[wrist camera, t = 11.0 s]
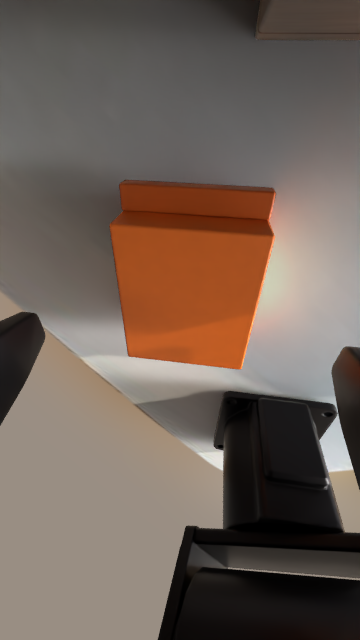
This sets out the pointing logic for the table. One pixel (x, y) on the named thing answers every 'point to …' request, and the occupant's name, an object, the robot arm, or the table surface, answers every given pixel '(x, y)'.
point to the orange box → (191, 268)
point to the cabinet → (308, 20)
